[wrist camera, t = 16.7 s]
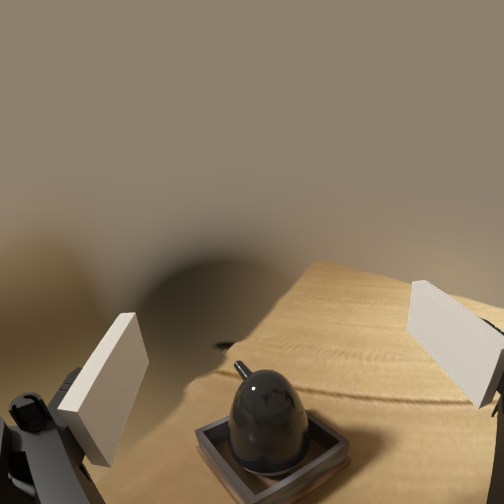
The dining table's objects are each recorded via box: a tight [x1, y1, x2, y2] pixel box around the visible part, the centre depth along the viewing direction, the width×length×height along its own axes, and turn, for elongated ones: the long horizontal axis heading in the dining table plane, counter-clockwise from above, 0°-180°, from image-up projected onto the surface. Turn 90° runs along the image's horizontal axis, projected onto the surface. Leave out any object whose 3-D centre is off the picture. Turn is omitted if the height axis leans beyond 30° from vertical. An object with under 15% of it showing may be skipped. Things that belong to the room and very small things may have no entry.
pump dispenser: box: [228, 361, 311, 476], centre depth 32 cm, size 10×10×15 cm
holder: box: [195, 410, 350, 504], centre depth 34 cm, size 15×15×6 cm
